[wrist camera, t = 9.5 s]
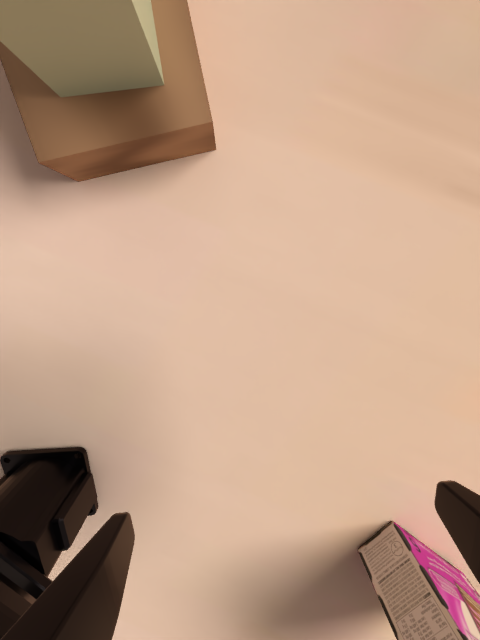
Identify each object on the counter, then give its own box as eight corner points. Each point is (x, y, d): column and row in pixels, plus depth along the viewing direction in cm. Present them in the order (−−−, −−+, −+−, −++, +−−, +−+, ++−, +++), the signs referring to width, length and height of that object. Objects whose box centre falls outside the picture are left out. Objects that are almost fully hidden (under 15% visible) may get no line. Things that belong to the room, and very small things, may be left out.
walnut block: (81, 183, 17) (38, 162, 13) (24, 12, 15) (-48, -71, 11) (216, 151, 17) (212, 121, 13) (178, -25, 15) (160, -124, 11)
